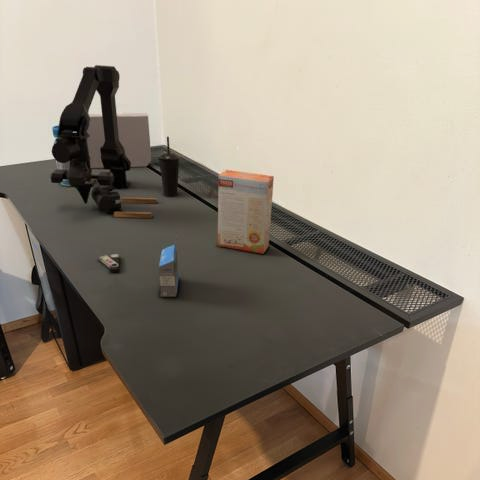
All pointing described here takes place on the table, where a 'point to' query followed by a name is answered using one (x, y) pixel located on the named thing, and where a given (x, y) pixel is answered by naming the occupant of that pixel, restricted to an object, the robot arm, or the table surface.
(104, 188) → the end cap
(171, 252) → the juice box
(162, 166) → the drinking cup
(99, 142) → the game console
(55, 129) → the beverage bottle
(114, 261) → the usb flash drive
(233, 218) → the cracker box
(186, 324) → the table surface
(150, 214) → the brown flat block
